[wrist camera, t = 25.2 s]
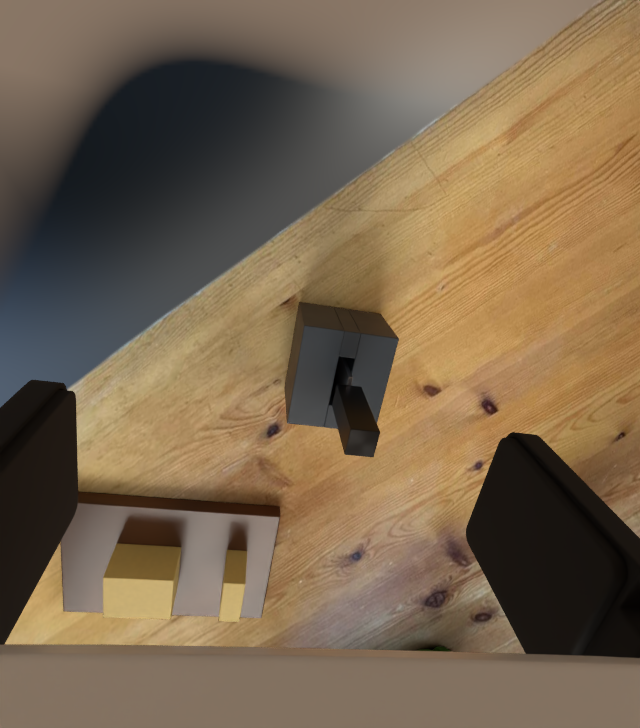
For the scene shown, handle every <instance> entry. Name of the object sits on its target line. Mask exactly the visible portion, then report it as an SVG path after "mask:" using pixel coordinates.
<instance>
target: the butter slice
mask: <svg viewBox="0 0 640 728" xmlns="http://www.w3.org/2000/svg"><path fill="white" fill-rule="evenodd" d="M246 567H247V551H239V550H227V554H226V561H225V568H224V575H223V583H222V591H221V600H220V609H219V619H218V620H219V621H230V622H239V621H240V615H241V609H242V603H243V597H244V590H245V584H246Z"/></svg>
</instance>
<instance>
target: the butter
mask: <svg viewBox="0 0 640 728" xmlns="http://www.w3.org/2000/svg"><path fill="white" fill-rule="evenodd" d="M180 557H181V547H170V546H153V545H135V544H118V543H117V544H116V546H115V549H114V551H113V554H112V556H111V559H110V561H109V564H108V566H107V569H106V571H105V574H104V576H103V617H106V618H136V619H167V620H170V619H171V616H172V611H173V606H174V601H175V597H176V592H177V587H178V580H179V568H180Z"/></svg>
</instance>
